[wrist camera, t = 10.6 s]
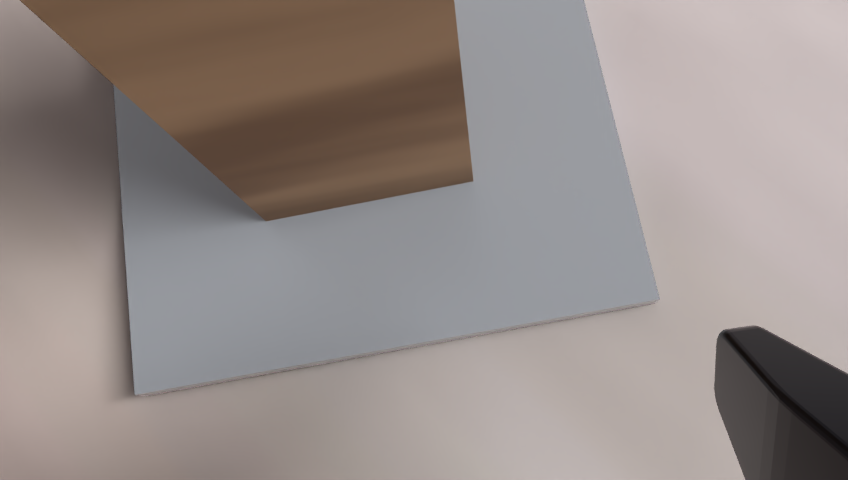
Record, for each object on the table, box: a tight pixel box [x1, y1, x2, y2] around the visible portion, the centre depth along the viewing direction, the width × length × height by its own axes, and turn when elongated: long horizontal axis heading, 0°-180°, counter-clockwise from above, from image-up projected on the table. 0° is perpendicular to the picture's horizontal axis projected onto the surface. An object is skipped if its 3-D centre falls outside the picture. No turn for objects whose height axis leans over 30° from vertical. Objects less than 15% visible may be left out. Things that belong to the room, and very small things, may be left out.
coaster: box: [113, 0, 660, 396], centre depth 19 cm, size 12×12×1 cm
